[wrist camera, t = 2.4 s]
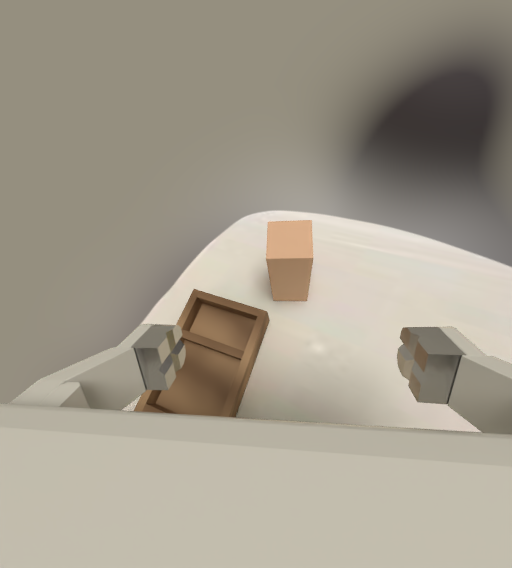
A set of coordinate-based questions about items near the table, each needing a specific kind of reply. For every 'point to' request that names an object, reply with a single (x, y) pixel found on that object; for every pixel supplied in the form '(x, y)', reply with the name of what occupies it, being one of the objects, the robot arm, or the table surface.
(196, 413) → the brown wooden divided tray
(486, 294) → the table surface
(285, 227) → the peach upright block
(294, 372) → the table surface
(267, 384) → the table surface
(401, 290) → the table surface
